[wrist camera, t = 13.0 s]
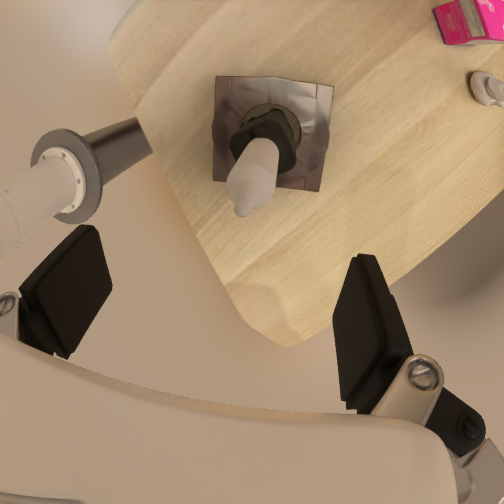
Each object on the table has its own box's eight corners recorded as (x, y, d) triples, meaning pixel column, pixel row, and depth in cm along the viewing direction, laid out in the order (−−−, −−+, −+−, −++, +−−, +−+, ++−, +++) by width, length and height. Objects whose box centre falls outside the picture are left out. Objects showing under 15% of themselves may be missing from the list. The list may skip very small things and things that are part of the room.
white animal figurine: (471, 61, 22) (504, 63, 16) (498, 90, 23) (530, 98, 17) (459, 87, 25) (492, 93, 19) (486, 115, 26) (518, 126, 20)
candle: (261, 154, 36) (221, 267, 16) (244, 121, 34) (171, 188, 13) (296, 140, 34) (310, 237, 14) (280, 105, 32) (267, 143, 11)
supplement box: (460, 10, 18) (506, 1, 9) (472, 46, 21) (521, 46, 12) (430, 7, 20) (474, -8, 10) (443, 44, 23) (491, 40, 13)
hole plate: (215, 176, 39) (211, 182, 37) (218, 74, 30) (213, 74, 28) (318, 187, 38) (320, 194, 36) (332, 85, 30) (336, 85, 28)
